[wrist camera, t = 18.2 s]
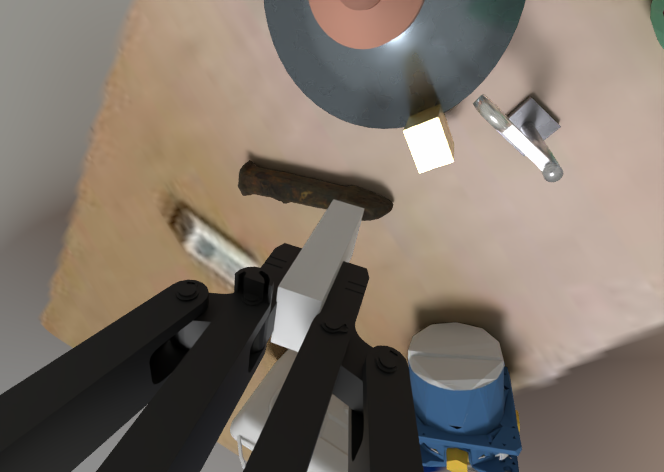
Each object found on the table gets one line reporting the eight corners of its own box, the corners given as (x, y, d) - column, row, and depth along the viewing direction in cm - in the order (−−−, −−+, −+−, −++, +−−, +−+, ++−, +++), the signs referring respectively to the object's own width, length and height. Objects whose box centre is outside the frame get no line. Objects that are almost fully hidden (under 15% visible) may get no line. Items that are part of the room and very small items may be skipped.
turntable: (236, 33, 38) (197, 38, 33) (360, -267, 26) (332, -343, 20) (419, 175, 41) (412, 203, 35) (614, -37, 28) (654, -47, 22)
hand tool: (250, 185, 50) (233, 200, 47) (250, 157, 48) (232, 170, 44) (388, 220, 47) (382, 239, 44) (395, 192, 45) (390, 210, 41)
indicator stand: (558, 124, 36) (602, 176, 25) (522, 153, 39) (548, 213, 28) (489, 55, 35) (503, 79, 24) (456, 90, 37) (455, 126, 26)
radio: (391, 403, 65) (361, 586, 45) (364, 420, 70) (325, 593, 49) (287, 332, 63) (206, 490, 43) (267, 355, 68) (184, 507, 47)
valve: (511, 393, 56) (527, 493, 42) (409, 384, 61) (395, 470, 48) (512, 317, 51) (530, 402, 38) (401, 314, 56) (383, 387, 43)
